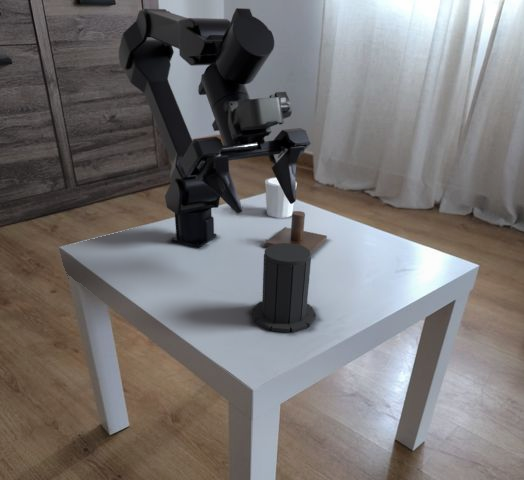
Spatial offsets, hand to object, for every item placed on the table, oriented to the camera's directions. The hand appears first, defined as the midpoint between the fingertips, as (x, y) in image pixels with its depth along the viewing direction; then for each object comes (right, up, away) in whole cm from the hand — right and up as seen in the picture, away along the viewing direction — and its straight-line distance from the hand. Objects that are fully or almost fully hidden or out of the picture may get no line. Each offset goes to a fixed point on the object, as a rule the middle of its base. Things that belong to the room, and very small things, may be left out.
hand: (267, 207), depth 70 cm
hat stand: (+6, 0, +24) cm, 25 cm away
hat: (+2, -15, +1) cm, 16 cm away
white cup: (+3, +10, +38) cm, 39 cm away
